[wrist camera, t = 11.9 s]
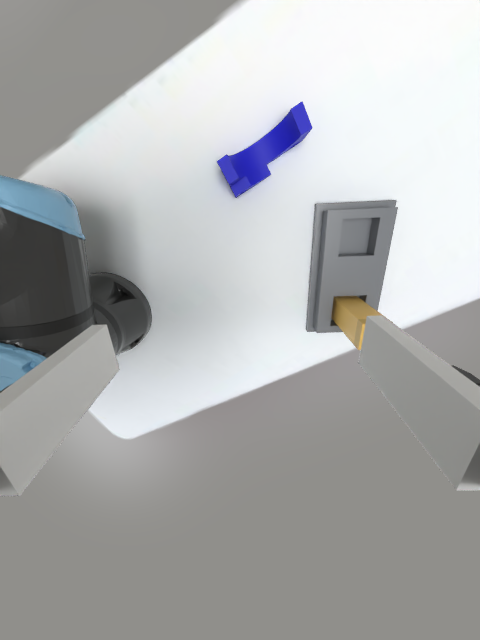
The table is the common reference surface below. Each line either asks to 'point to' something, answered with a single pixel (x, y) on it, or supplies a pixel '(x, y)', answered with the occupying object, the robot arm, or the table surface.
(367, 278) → the panel
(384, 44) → the table surface
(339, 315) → the plug
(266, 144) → the cable clip
